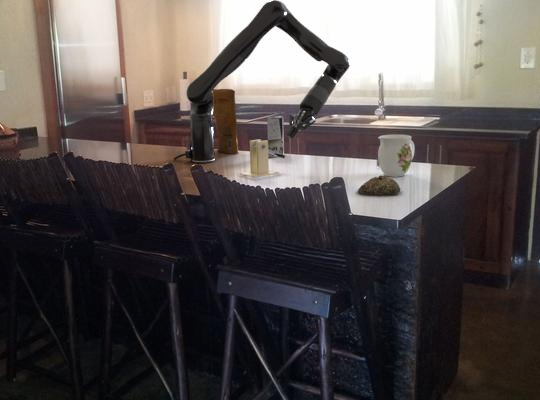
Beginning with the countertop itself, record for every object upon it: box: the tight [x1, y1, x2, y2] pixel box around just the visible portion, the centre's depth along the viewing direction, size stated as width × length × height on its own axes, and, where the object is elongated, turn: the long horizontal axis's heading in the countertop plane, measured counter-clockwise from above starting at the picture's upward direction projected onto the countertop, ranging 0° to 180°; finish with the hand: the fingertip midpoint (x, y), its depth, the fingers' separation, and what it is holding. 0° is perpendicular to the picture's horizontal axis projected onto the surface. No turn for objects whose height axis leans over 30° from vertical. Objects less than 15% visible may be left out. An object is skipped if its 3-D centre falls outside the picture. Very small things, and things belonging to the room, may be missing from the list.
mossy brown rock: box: [357, 175, 402, 196], centre depth 197 cm, size 13×12×5 cm
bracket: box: [239, 139, 280, 178], centre depth 229 cm, size 11×9×13 cm
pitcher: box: [377, 134, 416, 178], centre depth 218 cm, size 11×18×14 cm, turn 124°
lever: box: [253, 141, 286, 159], centre depth 230 cm, size 12×6×2 cm, turn 121°
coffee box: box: [266, 115, 285, 158], centre depth 267 cm, size 9×6×16 cm
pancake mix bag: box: [213, 88, 239, 155], centre depth 281 cm, size 7×19×28 cm, turn 26°
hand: (289, 137), depth 234 cm, fingers closed
